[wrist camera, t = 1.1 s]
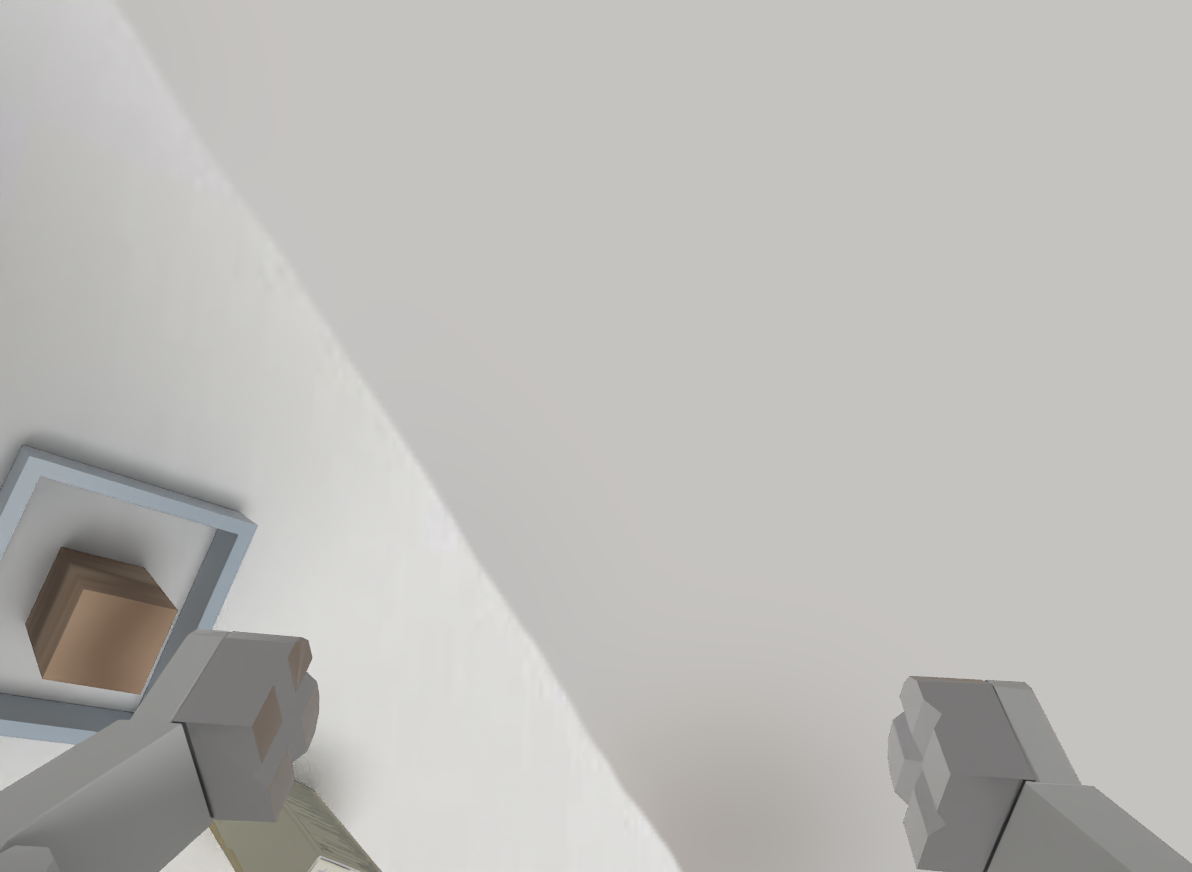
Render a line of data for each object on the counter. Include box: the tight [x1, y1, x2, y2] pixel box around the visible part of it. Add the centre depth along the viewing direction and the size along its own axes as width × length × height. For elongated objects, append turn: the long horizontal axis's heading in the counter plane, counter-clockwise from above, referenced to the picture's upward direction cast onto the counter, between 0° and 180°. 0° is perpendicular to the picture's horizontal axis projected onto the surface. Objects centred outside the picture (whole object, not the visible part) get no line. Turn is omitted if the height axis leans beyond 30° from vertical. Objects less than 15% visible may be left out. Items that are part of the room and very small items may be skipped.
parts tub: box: [0, 445, 258, 745], centre depth 46 cm, size 12×14×4 cm
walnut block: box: [25, 547, 178, 694], centre depth 44 cm, size 4×4×8 cm
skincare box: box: [209, 781, 382, 872], centre depth 51 cm, size 6×4×12 cm
